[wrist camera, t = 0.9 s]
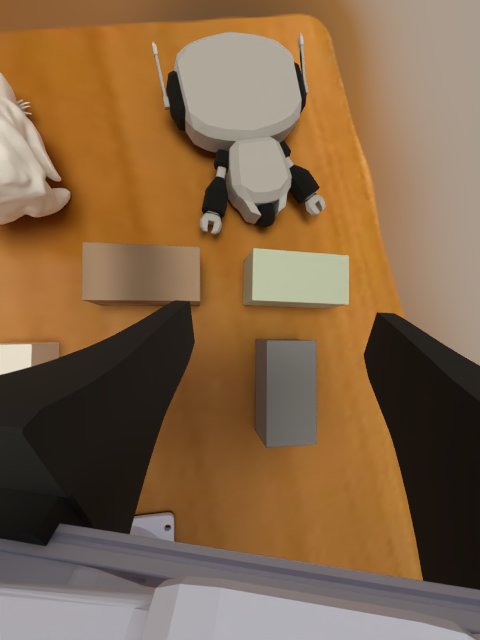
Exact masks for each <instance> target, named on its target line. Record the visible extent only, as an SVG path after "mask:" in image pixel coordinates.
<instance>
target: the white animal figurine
mask: <svg viewBox="0 0 480 640" xmlns="http://www.w3.org/2000/svg"><path fill="white" fill-rule="evenodd" d="M22 101H23V100H20V101H16V97H15V94H14V92H13V90H12V88H11V86H10V85H9V83H8V82H7V80H6V79H5V78H4V76H3V75H2V74H1V73H0V224H6V223H9V222H13V221H15V220H16V219H18V218H20V217H22V216H23V215H25V214H27V215H30V216H32V217H42V216H47V215H50V214H53V213H55V212H57V211H59V210H61V209H62V208H63V207H64V206H65V205H66V204H67V203H68V200H70V192H69V191H68V190H67V189H65V188H52V189H51V187H50V186H49V185H48V183H47V182H46V180H45V179H46V176H47V177H49V178H50V179H52V180H54V181H57V182H59V181H61V177H60V176H59V175H58V173H57V171H56V170H55V168H54V166H53V164H52V162H51V160H50V158H49V156H48V154H47V152H46V149H45V146H44V143H43V140H42V138H41V136H40V134H39V132H38V131H37V129H36V128H35V126H34V124H33V123H32V122H31V121H30V120H29V119H28V118H27V117H26V115H27V114H31V113H28V112H25V111H24V110H23V109H25V108H27V107H30V106H23V105H25V104H28V103H30V102H26V103H22V104H20V105H19V103H21V102H22ZM22 110H23V111H24V112H23V111H22ZM25 114H26V115H25Z"/></svg>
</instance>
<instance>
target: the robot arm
mask: <svg viewBox="0 0 480 640" xmlns="http://www.w3.org/2000/svg"><path fill="white" fill-rule="evenodd" d="M194 342H195V341H194V333H193V324H192V315H191V307H190V301H180V300H175V301H173V302H171V303H169V304H167V305H165V306H164V307H162V308H160V309H159V310H157V311H156V312H154V313H152V314H151V315H149V316H147V317H146V318H144V319H142V320H141V321H139V322H137V323H135V324H134V325H132V326H130V327H128V328H126V329H124V330H123V331H121V332H119V333H117V334H115V335H113V336H111V337H109V338H107V339H105V340H103V341H101V342H98V343H96V344H94V345H92V346H89V347H87V348H84V349H82V350H79V351H76V352H74V353H71V354H68V355H65V356H63V357H60V358H57V359H54V360H51V361H48V362H45V363H42V364H38V365H35V366H32V367H28V368H25V369H21V370H17V371H14V372H10V373H6V374H2V375H0V640H480V366H479V365H477V364H475V363H474V362H472V361H470V360H469V359H467V358H465V357H463V356H462V355H460V354H458V353H457V352H455V351H453V350H452V349H450V348H448V347H447V346H445V345H443V344H442V343H440V342H439V341H437V340H436V339H434V338H433V337H431V336H429V335H428V334H427V333H425V332H423V331H422V330H421V329H419V328H418V327H416V326H414V325H413V324H411V323H410V322H408V321H407V320H405V319H403V318H402V317H400V316H398V315H396V314H393V313H377V314H376V317H375V321H374V324H373V327H372V330H371V333H370V336H369V340H368V343H367V346H366V349H365V352H364V359H365V364H366V369H367V373H368V377H369V380H370V383H371V385H372V388H373V391H374V393H375V396H376V399H377V401H378V404H379V406H380V409H381V411H382V414H383V416H384V419H385V421H386V424H387V427H388V429H389V432H390V435H391V438H392V441H393V444H394V448H395V451H396V455H397V459H398V463H399V466H400V470H401V474H402V478H403V483H404V487H405V491H406V495H407V499H408V504H409V509H410V513H411V518H412V523H413V528H414V532H415V537H416V543H417V548H418V554H419V559H420V565H421V571H422V576H423V581H420V580H414V579H407V578H401V577H395V576H389V575H382V574H376V573H370V572H363V571H357V570H351V569H344V568H338V567H332V566H325V565H319V564H313V563H306V562H300V561H294V560H288V559H281V558H275V557H269V556H262V555H256V554H250V553H243V552H237V551H231V550H224V549H218V548H212V547H205V546H199V545H193V544H186V543H180V542H174V515H173V514H172V513H170V512H166V513H158V514H149V515H141V516H135V512H136V508H137V504H138V500H139V497H140V493H141V490H142V486H143V483H144V479H145V476H146V472H147V469H148V465H149V462H150V459H151V456H152V452H153V449H154V446H155V443H156V440H157V437H158V434H159V431H160V428H161V425H162V422H163V419H164V416H165V414H166V411H167V409H168V406H169V404H170V402H171V400H172V398H173V396H174V393H175V391H176V389H177V387H178V385H179V383H180V380H181V378H182V376H183V374H184V372H185V369H186V367H187V365H188V363H189V359H190V356H191V353H192V349H193V346H194ZM167 524H168V525H170V527H169V528H166V527H165V526H166V525H167Z"/></svg>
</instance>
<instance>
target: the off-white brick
mask: <svg viewBox="0 0 480 640" xmlns="http://www.w3.org/2000/svg"><path fill="white" fill-rule="evenodd" d="M57 358H59V342H28V343H0V375H2V374H6V373H10V372H14V371H17V370H21V369H25V368H28V367H32V366H35V365H38V364H42V363H45V362H48V361H51V360H54V359H57Z"/></svg>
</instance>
